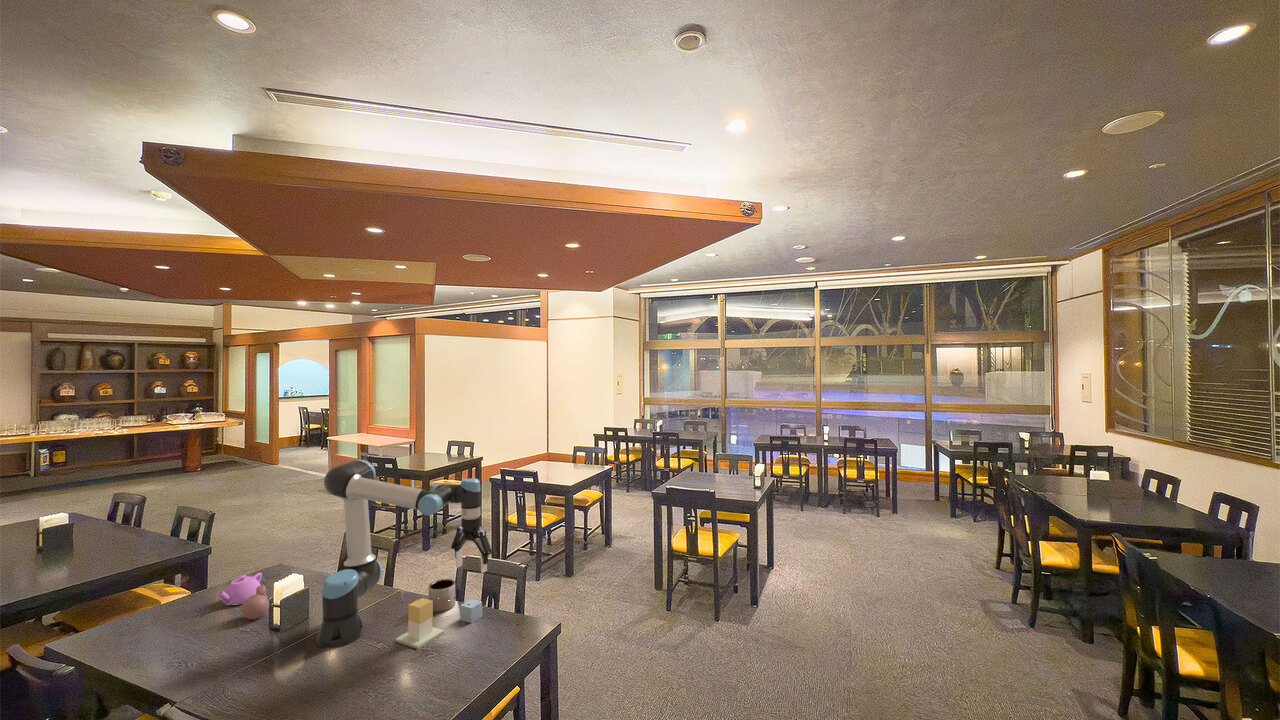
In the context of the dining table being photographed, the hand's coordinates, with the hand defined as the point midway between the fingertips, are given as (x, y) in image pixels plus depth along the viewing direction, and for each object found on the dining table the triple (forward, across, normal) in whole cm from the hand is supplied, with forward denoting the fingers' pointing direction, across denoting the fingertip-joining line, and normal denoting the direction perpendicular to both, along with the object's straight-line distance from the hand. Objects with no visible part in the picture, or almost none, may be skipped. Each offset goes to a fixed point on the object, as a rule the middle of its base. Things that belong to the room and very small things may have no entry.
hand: (471, 569), depth 200 cm
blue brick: (+20, 0, 0) cm, 20 cm away
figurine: (+20, -83, -38) cm, 94 cm away
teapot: (+20, -106, -32) cm, 113 cm away
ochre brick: (+13, -7, -19) cm, 24 cm away
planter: (+20, -19, +2) cm, 28 cm away
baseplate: (+20, -7, -19) cm, 28 cm away
